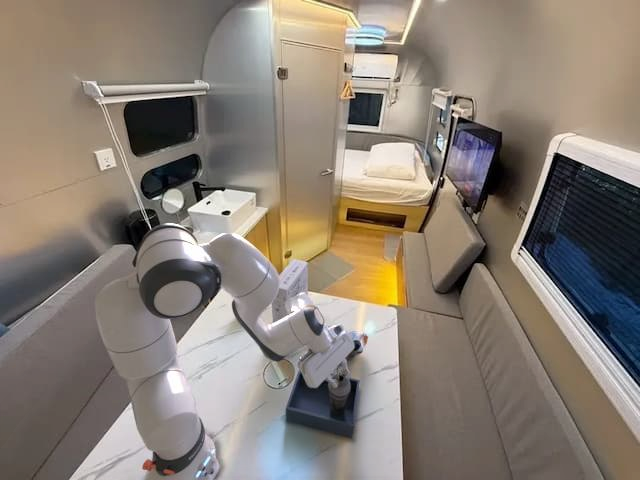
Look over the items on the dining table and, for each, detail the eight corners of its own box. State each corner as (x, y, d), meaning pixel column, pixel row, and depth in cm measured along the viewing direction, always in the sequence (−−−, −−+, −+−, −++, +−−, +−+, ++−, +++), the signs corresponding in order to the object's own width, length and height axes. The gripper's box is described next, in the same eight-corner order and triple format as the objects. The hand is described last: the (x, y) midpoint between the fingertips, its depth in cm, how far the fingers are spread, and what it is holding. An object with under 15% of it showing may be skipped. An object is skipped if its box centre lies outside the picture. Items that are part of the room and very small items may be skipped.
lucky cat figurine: (343, 332, 122) (361, 316, 114) (358, 357, 116) (378, 342, 109) (319, 343, 111) (337, 325, 104) (335, 371, 105) (355, 354, 98)
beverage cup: (346, 420, 89) (352, 382, 79) (324, 415, 90) (327, 377, 80) (348, 399, 95) (354, 361, 85) (328, 394, 96) (331, 356, 86)
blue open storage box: (352, 439, 85) (354, 427, 82) (286, 420, 89) (285, 408, 86) (357, 392, 98) (359, 379, 95) (300, 377, 102) (300, 365, 99)
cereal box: (288, 335, 120) (286, 290, 107) (273, 329, 122) (270, 285, 110) (307, 303, 137) (308, 262, 125) (294, 299, 140) (293, 258, 127)
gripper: (300, 361, 76) (326, 406, 75) (344, 321, 90) (366, 358, 89) (290, 362, 81) (313, 404, 80) (333, 324, 94) (354, 359, 93)
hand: (341, 380), depth 84 cm, fingers closed on beverage cup, 4 cm apart
